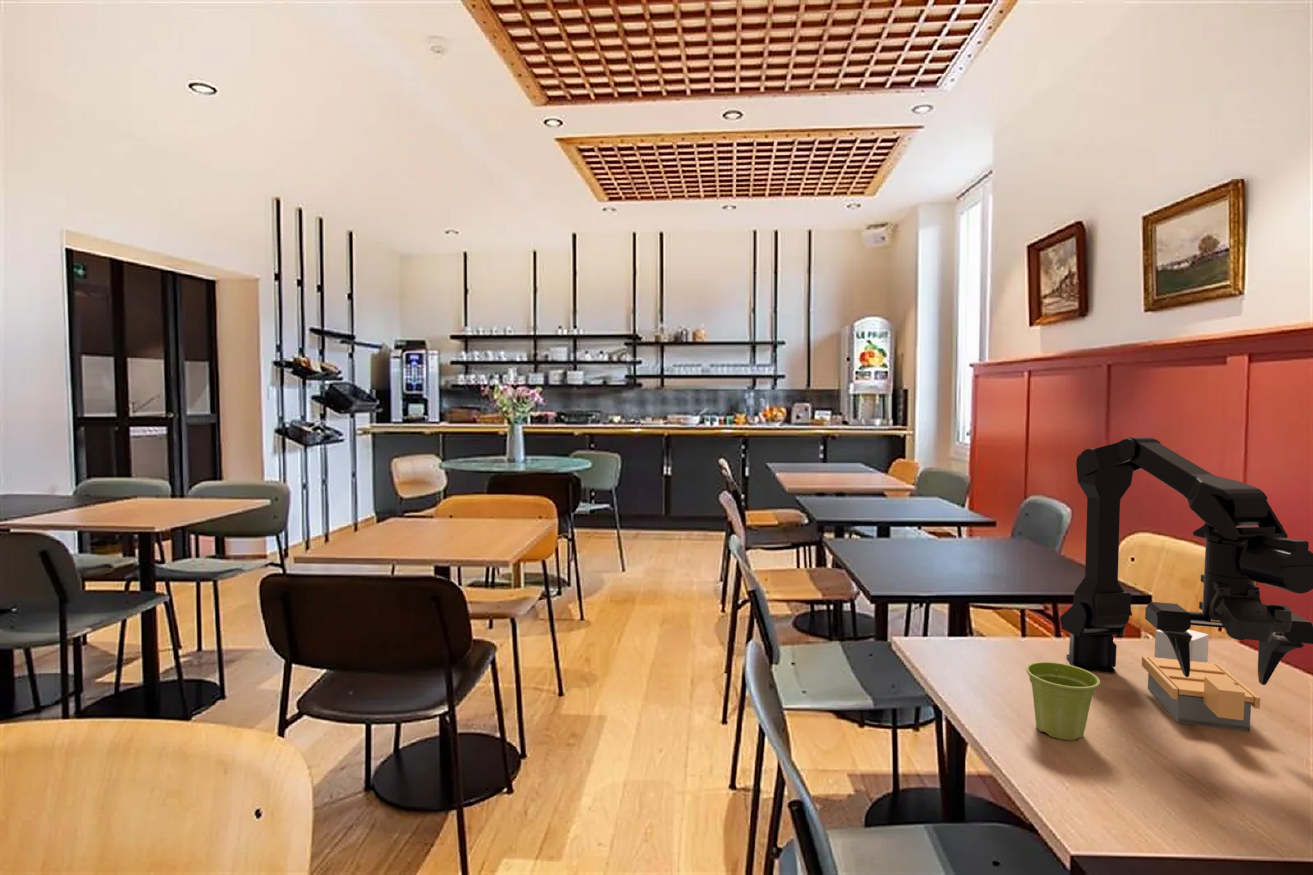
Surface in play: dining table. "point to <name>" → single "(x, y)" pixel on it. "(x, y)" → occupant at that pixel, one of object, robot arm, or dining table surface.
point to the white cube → (1196, 646)
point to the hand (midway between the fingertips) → (1223, 680)
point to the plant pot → (1061, 698)
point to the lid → (1203, 685)
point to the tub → (1196, 709)
